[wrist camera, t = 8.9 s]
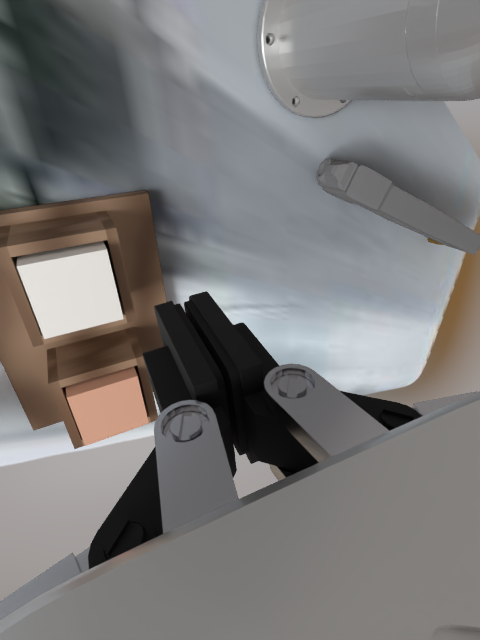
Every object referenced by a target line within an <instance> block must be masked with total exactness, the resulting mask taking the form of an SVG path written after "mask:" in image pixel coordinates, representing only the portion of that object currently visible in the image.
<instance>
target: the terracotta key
mask: <svg viewBox="0 0 480 640" xmlns="http://www.w3.org/2000/svg"><path fill="white" fill-rule="evenodd" d="M66 396H67V400H68V403H69V405H70V408H71V410H72V413H73V416H74V418H75V421H76V423H77V426H78V429H79V431H80V434H81V436H82V439H83V442H84V444H85V446H86V445H89V444H92V443H95V442H97V441H100V440H103V439H106V438H109V437H112V436H114V435H117V434H120V433H123V432H126V431H129V430H131V429H134V428H137V427H140V426H143V425H146V424H148V423H149V422H148V417H147V413H146V409H145V405H144V401H143V397H142V393H141V388H140V384H139V380H138V376H137V373H136V371H135V368H134V366H133V367H129V368H126V369H123V370H119V371H116V372H113V373H109V374H106V375H103V376H99V377H96V378H92V379H89V380H86V381H82V382H79V383H76V384H72V385H69V386H66Z"/></svg>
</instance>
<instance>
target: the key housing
mask: <svg viewBox="0 0 480 640" xmlns="http://www.w3.org/2000/svg"><path fill="white" fill-rule="evenodd" d="M99 241H103V242H104V244H105V246H106V248H107V252H108V256H109V260H110V264H111V268H112V272H113V277H114V281H115V285H116V289H117V293H118V297H119V301H120V306H121V310H122V314H123V318H124V319H122V320H118V321H114V322H110V323H106V324H102V325H98V326H94V327H91V328H87V329H83V330H79V331H75V332H71V333H67V334H63V335H59V336H55V337H51V338H47V339H44V337H43V334H42V332H41V329H40V327H39V324H38V321H37V319H36V316H35V314H34V311H33V308H32V306H31V303H30V301H29V298H28V295H27V293H26V290H25V287H24V285H23V282H22V280H21V277H20V274H19V272H18V269H17V267H16V266H17V257H18V256H22V255H27V254H33V253H38V252H44V251H49V250H55V249H60V248H66V247H71V246H77V245H82V244H88V243H93V242H99ZM162 303H166V296H165V290H164V284H163V278H162V272H161V266H160V260H159V254H158V248H157V242H156V236H155V230H154V224H153V218H152V212H151V206H150V200H149V194H148V193H147V192H146V191H145V190H141V191H134V192H127V193H120V194H113V195H106V196H99V197H92V198H85V199H78V200H71V201H64V202H57V203H50V204H43V205H36V206H29V207H22V208H15V209H8V210H1V211H0V360H1V362H2V365H3V367H4V369H5V371H6V373H7V375H8V377H9V379H10V381H11V384H12V386H13V388H14V390H15V392H16V394H17V396H18V398H19V401H20V403H21V405H22V407H23V409H24V411H25V413H26V415H27V417H28V420H29V422H30V424H31V426H32V428H33V430H37V429H40V428H43V427H46V426H49V425H52V424H55V423H58V422H61V421H64V424H65V426H66V429H67V431H68V433H69V436H70V438H71V441H72V443H73V446H74V448H75V449H76V448H79V447H82V446H85V444H84V442H83V439H82V436H81V434H80V431H79V429H78V426H77V423H76V421H75V418H74V416H73V413H72V410H71V408H70V405H69V403H68V400H67V396H66V386H69V385H72V384H76V383H79V382H82V381H86V380H89V379H92V378H96V377H99V376H103V375H106V374H109V373H113V372H116V371H119V370H123V369H126V368H129V367H133V366H134V368H135V371H136V373H137V376H138V380H139V384H140V388H141V393H142V397H143V401H144V405H145V409H146V413H147V417H148V422H149V423H150V422H153V421H156V420H157V418H158V414H157V410H156V405H155V401H154V396H153V389H152V386H151V382H150V379H149V376H148V372H147V369H146V365H145V362H144V358H143V354H142V353H145V352H148V351H151V350H155V349H158V348H161V347H163V343H162V338H161V334H160V330H159V326H158V322H157V318H156V314H155V310H154V306H155V305H159V304H162Z"/></svg>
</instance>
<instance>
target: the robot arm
mask: <svg viewBox="0 0 480 640" xmlns="http://www.w3.org/2000/svg"><path fill="white" fill-rule="evenodd" d="M266 38H267V40H268V41H267V43H266ZM257 47H258V55H259V62H260V66H261V69H262V73H263V76H264V79H265V81H266V83H267V85H268V88H269V90H270V91H271V93H272V94H273V95H274V97H275V98H276V100H277V101H278V102H279V103H280V104H281V105H282V106H283V107H284V108H285V109H287V110H289V111H290V112H292V113H294V114H296V115H300V116H303V117H311V118H317V117H325V116H328V115H331V114H334V113H335V112H337V111H339V110H340V109H342V108H343V107H344V106H346V105H347V104H348V103H349V102H350V101H351V100H399V101H466V100H474V99H478V98H480V0H263V3H262V6H261V9H260V15H259V21H258V31H257ZM292 100H293V103H292ZM184 306H185V311H186V313H185V311H184V310H183V308H182V306H181V305H180V304H176V305H174V304H173V302H172V301H170V302H166V303H162V304H159V305H155V306H154V310H155V314H156V318H157V322H158V326H159V330H160V334H161V338H162V343H163V347H161V348H158V349H155V350H151V351H148V352H145V353H142V354H143V358H144V362H145V365H146V369H147V372H148V376H149V379H150V382H151V386H152V389H153V392H154V395H155V398H156V401H157V404H158V407H159V410H160V413H161V414H160V415H159V416H158V418H157V420H156V422H155V426H154V436H155V448H154V449H153V451H152V452H151V454H150V455H149V457H148V458H147V460H146V461H145V463H144V464H143V465H142V467H141V468H140V470H139V472H138V473H137V474H136V476H135V477H134V479H133V480H132V482H131V483H130V485H129V486H128V487H127V489H126V491H125V492H124V493H123V495H122V497H121V498H120V499H119V501H118V502H117V504H116V505H115V507H114V508H113V510H112V511H111V512H110V514H109V515H108V517H107V518H106V520H105V521H104V523H103V524H102V526H101V527H100V529H99V530H98V531H97V533H96V535H95V537H94V539H93V541H92V543H91V545H90V547H89V548H87V549H86V550H85V551H83V552H82V553H80V554H79V555H77V556H76V557H75V555H74V554H73V553H71V554H70V555H68V556H67V557H65V558H64V559H62V560H61V561H59V562H58V563H56V564H55V565H54V566H52V567H50V568H49V569H48V570H46V571H45V572H43V573H42V574H40V575H39V576H37V577H36V578H34V579H33V580H31V581H30V582H28V583H27V584H25V585H24V586H22V587H21V588H19V589H18V590H16V591H15V592H13V593H12V594H10V595H9V596H8V597H6V598H4V599H3V600H2V601H0V640H480V392H471V393H466V394H461V395H455V396H450V397H444V398H439V399H434V400H428V401H423V402H418V403H414V404H413V408H411V407H409V406H407V405H403V404H400V403H397V402H392V401H387V400H381V399H377V398H371V397H367V396H362V395H357V394H352V393H347V392H342V391H339V390H338V389H336V388H335V387H334V386H333V385H331V384H330V383H329V382H328V381H326V380H325V379H324V378H323V377H321V376H320V375H319V374H318V373H316V372H315V371H314V370H312V369H310V368H308V367H306V366H303V365H299V364H286V365H281V366H279V365H278V364H277V362H276V361H275V360H274V359H273V358H272V356H271V355H270V354H269V353H268V352H267V350H266V349H265V348H264V347H263V345H262V344H261V343H260V342H259V341H258V339H257V338H256V337H255V336H254V335H253V333H252V332H251V331H250V330H249V328H248V327H247V326H246V325H245V324H244V323H239V324H235V325H233V324H232V323H231V322H230V321H229V319H228V318H227V317H226V315H225V314H224V313H223V311H222V310H221V309H220V308H219V306H218V305H217V304H216V302H215V301H214V300H213V298H212V297H211V296H210V295H209V293H208V292H207V291H206V292H202V293H199V294H195V295H191V296H190V297H189V301H187V302H184ZM233 444H234V445H233ZM234 446H235V448H236V450H237V452H238V453H239V455H243V454H245V453H246V455H247V457H248V459H249V460H250V463H251V464H252V463H254V462H257V461H261V462H264V463H268V464H270V469H271V471H272V472H273V474H274V475H275V477H276V478H277V479H278V482H276V483H274V484H271V485H269V486H267V487H265V488H263V489H260V490H258V491H256V492H254V493H251V494H249V495H247V496H245V497H243V498H241V499H239V498H238V495H237V491H236V488H235V484H234V480H233V477H234V475H235V473H236V470H237V469H236V462H235V452H234Z"/></svg>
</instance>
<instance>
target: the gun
mask: <svg viewBox="0 0 480 640" xmlns="http://www.w3.org/2000/svg"><path fill="white" fill-rule="evenodd" d="M316 177H317V181H319V183H318V184H319V185H320V186H322V187H323V190H324V191H326V192H327V193H329V194H331V195H333V196H336V197H338V198H340V199H342V200H345V201H347V202H349V203H353V204H357V205H359V206H361V207H363V208H365V209H367V210H369V211H371V212H374V213H376V214H378V215H380V216H382V217H384V218H386V219H388V220H390V221H392V222H394V223H396V224H399V225H401V226H403V227H406V228H408V229H410V230H413V231H415V232H417V233H420V234H422V235H424V236H426V237H428V241H429V242H431V243H435V244H440V245H446V246H449V247H452V248H455V249H458V250H461V251H464V252H468V253H471V254H474V255H475V253H476V252H477V251H478V249H479V247H480V235H479V234H478V233H476V232H474V231H473V230H471V229H470V228H468V227H467V226H465V225H463V224H461V223H460V222H458V221H456V220H455V219H453V218H451V217H450V216H448V215H446V214H445V213H443V212H441V211H440V210H438V209H436V208H435V207H433V206H431V205H430V204H428V203H426V202H424V201H422V200H420V199H418V198H417V197H415V196H413V195H411V194H409V193H407V192H406V191H404V190H402V189H400V188H398V187H396V186H395V185H393V182H392V181H391V180H389V179H387V178H386V177H384V176H382V175H380V174H379V173H377V172H375V171H374V170H372V169H370V168H368V167H366V166H363V165H357V164H355V163H354V162H348V161H334V160H332V159H330V158H328V159H326V160H324V161H323V162H322V163H321V165H320V167H319V169H318V171H317V175H316Z"/></svg>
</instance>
